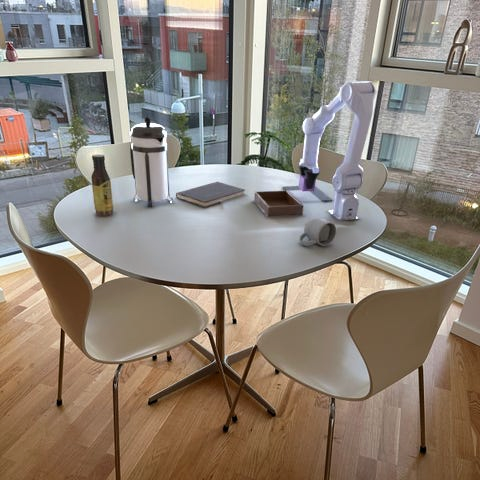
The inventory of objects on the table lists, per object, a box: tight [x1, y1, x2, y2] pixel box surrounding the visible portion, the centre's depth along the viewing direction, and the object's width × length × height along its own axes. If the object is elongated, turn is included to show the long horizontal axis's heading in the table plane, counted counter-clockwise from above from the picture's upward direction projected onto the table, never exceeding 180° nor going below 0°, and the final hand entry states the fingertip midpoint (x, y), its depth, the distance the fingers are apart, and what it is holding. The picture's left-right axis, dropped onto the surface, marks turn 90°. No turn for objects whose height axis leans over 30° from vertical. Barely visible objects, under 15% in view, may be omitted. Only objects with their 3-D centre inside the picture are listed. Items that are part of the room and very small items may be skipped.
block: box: [298, 174, 317, 192], centre depth 184 cm, size 5×5×5 cm
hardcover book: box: [175, 181, 246, 209], centre depth 183 cm, size 16×23×2 cm
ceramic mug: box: [299, 216, 337, 247], centre depth 146 cm, size 11×8×8 cm
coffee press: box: [129, 116, 174, 208], centre depth 169 cm, size 17×16×30 cm
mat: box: [282, 185, 333, 203], centre depth 191 cm, size 20×14×1 cm
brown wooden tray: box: [254, 190, 304, 218], centre depth 173 cm, size 18×13×4 cm
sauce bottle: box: [91, 154, 114, 217], centre depth 158 cm, size 7×6×20 cm
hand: (306, 186), depth 185 cm, fingers closed on block, 5 cm apart
